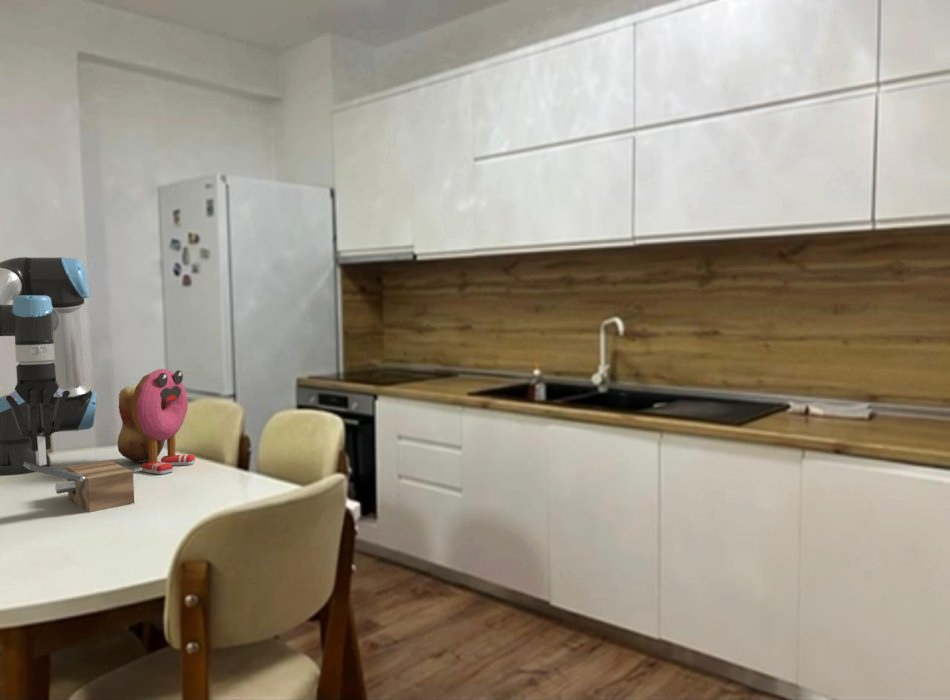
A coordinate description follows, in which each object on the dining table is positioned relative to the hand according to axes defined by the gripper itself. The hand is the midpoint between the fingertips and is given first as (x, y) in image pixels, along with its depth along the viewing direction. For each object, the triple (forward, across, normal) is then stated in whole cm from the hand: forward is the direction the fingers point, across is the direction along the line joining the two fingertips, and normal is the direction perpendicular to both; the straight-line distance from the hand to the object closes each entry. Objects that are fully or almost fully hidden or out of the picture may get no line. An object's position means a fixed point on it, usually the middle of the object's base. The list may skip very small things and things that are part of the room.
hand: (41, 464), depth 157 cm
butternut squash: (+13, +37, +42) cm, 57 cm away
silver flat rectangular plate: (+4, +8, 0) cm, 9 cm away
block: (+12, +14, +5) cm, 19 cm away
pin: (+11, +13, +9) cm, 19 cm away
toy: (+13, +38, +28) cm, 49 cm away
